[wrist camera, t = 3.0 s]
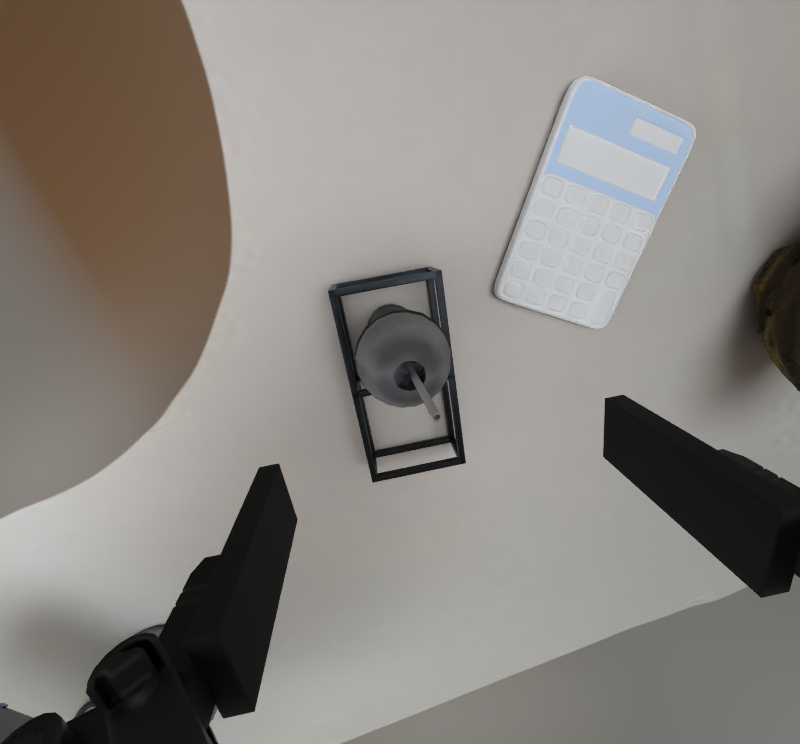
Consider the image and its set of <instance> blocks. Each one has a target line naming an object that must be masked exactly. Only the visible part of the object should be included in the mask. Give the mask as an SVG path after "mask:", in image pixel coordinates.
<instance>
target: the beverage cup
mask: <svg viewBox="0 0 800 744" xmlns="http://www.w3.org/2000/svg"><path fill="white" fill-rule="evenodd" d="M354 358H355V367H356V371H357V373H358V376H359V378H360V380H361V382H362V383H363V385H364V386H365V388H366V389H367V390H368V391H369V392H370V393H371V394H372V395H373V396H374V397H375V398H376V399H378V400H380V401H382V402H384V403H386V404H388V405H391V406H396V407H402V408H404V407H413V406H417V405H420V404H422V403H425V405H426V407H427V409H428V411H429V413H430V415H431V416H432V418H433V420H434V421H439V420H440V419H441V415H440V413H439V411H438V410H437V408H436V406H435V405H434V403H433V401H432V399H431V398H433V397H434V396H435V395H436V394H437V393H439V391H440V390H441V388H442V387H443V385H444V384H445V382H446V381H447V378H448V374H449V371H450V368H451V355H450V345H449V343H448V340H447V337H446V334H445V332H444V331H443V330H442V329H441V327H440V326H439V325H438V324H437V322H436V321H434V320H433V319H431V318H429V317H428V316H426V315H425V314H423V313H419V312H415V311H411V310H407V309H405V308H403V307H402V306H398V305H394V304H388V305H384V306H381V307H379V308H378V309H377V310H376V311H374V313H373V314H372V316H371V318H370V319H369V322H368V325H367V327H366V328H365V329H364V331H363V332H362V334H361V336H360V337H359V339H358V341H357V345H356V350H355V354H354Z"/></svg>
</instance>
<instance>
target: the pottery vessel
mask: <svg viewBox="0 0 800 744" xmlns="http://www.w3.org/2000/svg"><path fill="white" fill-rule="evenodd" d="M797 242H798V241H797ZM795 245H796V246H795ZM799 254H800V244H797V243H796V244H794V245H791V246H788V247H784V248H781V249H779V250H777V251H776V252H775V254H774V255H773V256H772V258H771V260H770V261H769V262H768V263H767V265H766V266H767V269H766V270H763V272H762V275H761V276H760V278H759V279H758V280H757V282H756V284H755V286H754V287H753V288H754V289H755V291H756V296H757V300H758V313H757V322H758V328H757V329H756V331H757V332H758V333H759V334H760V335H761V336H762V340H761V341H762V342H763V343H764V346H765V348H766V350H767V351H768V353H769V356H770V359H771V360H772V362H773V363H774V364H775V365H776V367H777V368H778V369H779V370H780V371H781V372H782V374H783V375H784V376H785V377H786V378H787V379H788V380H789V381H790V382H791V383H792V384H793V385H794V386H795V387H796V388H797V389H796V390H798V391H800V255H799ZM798 255H799V256H798Z"/></svg>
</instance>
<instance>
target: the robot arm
mask: <svg viewBox="0 0 800 744" xmlns="http://www.w3.org/2000/svg"><path fill="white" fill-rule="evenodd" d="M603 457H604V458H605V459H606V460H608V461H609V462H610V463H611V464H612V465H613V466H614V467H615V468H616V469H618V470H619V471H620V472H621V473H622V474H623V475H624V476H625V477H627V478H628V479H629V480H630V481H631V482H632V483H633V484H634V485H635V486H637V487H638V488H639V489H640V490H641V491H642V492H643V493H644V494H646V495H647V496H648V497H649V498H650V499H651V500H652V501H653V502H655V503H656V504H657V505H658V506H659V507H660V508H661V509H662V510H663V511H665V512H666V513H667V514H668V515H669V516H670V517H671V518H672V519H674V520H675V521H676V522H677V523H678V524H679V525H680V526H681V527H683V528H684V529H685V530H686V531H687V532H688V533H689V534H690V535H691V536H693V537H694V538H695V539H696V540H697V541H698V542H699V543H700V544H702V545H703V546H704V547H705V548H706V549H707V550H708V551H709V552H711V553H712V554H713V555H714V556H715V557H716V558H717V559H718V560H719V561H721V562H722V563H723V564H724V565H725V566H726V567H727V568H728V569H730V570H731V571H732V572H733V573H734V574H735V575H736V576H737V577H739V578H740V579H741V580H742V581H743V582H744V583H745V584H746V585H747V586H749V587H750V588H751V589H752V590H753V591H754V592H755V593H756V594H758V595H759V596H760V597H761V598H762V597H767V596H771V595H775V594H780V593H784V592H789V590H790V586H791V583H792V579H793V576H794V574H796V575H797V576H798V577H800V488H799V487H797V486H796V485H794V484H792V483H790V482H788V481H787V480H785V479H783V478H779V477H778V476H777V475H776V474H774V473H773V472H771V471H769V470H767V469H763V467H762V466H760V465H758V464H757V463H755V462H753V461H751V460H750V459H748V458H746V457H744V456H741V455H738V454H735V453H732V452H730V451H727V450H724V449H722V450H716V449H714V448H713V447H711V446H709V445H708V444H706V443H704V442H703V441H701V440H699V439H697V438H696V437H694V436H692V435H691V434H689V433H687V432H686V431H684V430H682V429H680V428H679V427H677V426H675V425H674V424H672V423H670V422H669V421H667V420H665V419H664V418H662V417H660V416H658V415H657V414H655V413H653V412H652V411H650V410H648V409H647V408H645V407H643V406H641V405H640V404H638V403H636V402H635V401H633V400H631V399H630V398H628V397H626V396H625V395H620V396H615V397H610V398H605V416H604V449H603ZM296 524H297V517H296V514H295V511H294V508H293V505H292V502H291V499H290V496H289V492H288V489H287V486H286V483H285V480H284V477H283V474H282V471H281V468H280V465H279V464H274V465H269V466H264V467H259V469H258V471H257V474H256V476H255V478H254V480H253V483H252V485H251V487H250V489H249V492H248V494H247V496H246V498H245V501H244V503H243V505H242V507H241V510H240V512H239V514H238V516H237V519H236V521H235V523H234V525H233V528H232V530H231V532H230V534H229V537H228V539H227V541H226V543H225V546H224V548H223V550H222V552H221V555H216V556H211V557H207V558H204V559H203V561H202V562H201V563H200V564H199V565H198V566H197V567H196V568H195V570H194V571H193V572H192V573H191V574H190V576H189V578H188V580H187V582H186V584H185V586H184V588H183V593H181V594H180V596H179V598H178V600H177V602H176V607H174V608H173V610H172V612H171V614H170V616H169V618H168V620H167V622H166V624H165V625H164V626H158V627H154V628H150V629H147V630H144V631H142V632H140V633H138V634H136V635H134V636H132V637H130V638H128V639H127V640H125V641H123V642H121V643H120V644H118V645H117V646H116V647H115V648H113V649H112V650H111V651H110V652H109V653H108V654H106V655H105V656H104V658H103V659H102V660H101V661H100V662H99V664H98V665H97V666H96V667H95V668H94V670H93V672H92V674H91V676H90V678H89V680H88V682H87V690H86V693H87V695H88V696H89V697H90V699H91V700H92V701H90V702H88V703H87V704H85V705H84V706H83V707H82V708H81V709H80V710H79V712H78V713H77V715H76V717H75V718H74V719H72V720H70V721H68V722H65V721H64V720H63V719H62V717H60V716H59V715H58V714H57V713H44V714H42V715H40V716H37V717H35V718H33V717H30V716H27V715H25V714H22V713H19V712H17V711H14V710H11V709H9V708H7V706H8V705H7V704H5V703H0V744H218V742H217V740H216V737H215V735H214V733H213V731H212V729H211V727H210V726H209V723H210V721H211V720H213V718H214V715H215V713H216V711H217V709H218V710H219V712H220V714H221V715H222V717H223V718H228V717H232V716H237V715H241V714H245V713H250V712H254V711H255V707H256V703H257V698H258V694H259V689H260V685H261V680H262V676H263V671H264V667H265V662H266V658H267V653H268V649H269V644H270V640H271V636H272V631H273V627H274V622H275V618H276V613H277V609H278V604H279V600H280V595H281V591H282V586H283V582H284V577H285V573H286V569H287V564H288V560H289V555H290V551H291V546H292V542H293V537H294V533H295V528H296ZM91 707H95V708H93V709H91V710H90V711H88V712H86V713H84V712H85V711H86V710H87V709H89V708H91Z"/></svg>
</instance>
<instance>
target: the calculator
mask: <svg viewBox="0 0 800 744" xmlns="http://www.w3.org/2000/svg"><path fill="white" fill-rule="evenodd" d="M695 138H696V129H695V127H694V126H693V125H692V124H691V123H689V122H688V121H686V120H684V119H682V118H680V117H678V116H676V115H673V114H671V113H669V112H667V111H665V110H663V109H660V108H658V107H656V106H654V105H652V104H650V103H648V102H645V101H643V100H641V99H639V98H637V97H635V96H633V95H630V94H628V93H626V92H624V91H622V90H620V89H618V88H615V87H613V86H611V85H609V84H607V83H605V82H603V81H600V80H598V79H596V78H593V77H589V76H582V77H579V78H577V79H576V80H575V81H574V82H573V83H572V84H571V85H570V87H569V88H568V90H567V92H566V94H565V96H564V99H563V101H562V104H561V106H560V109H559V111H558V114H557V117H556V119H555V122H554V125H553V128H552V130H551V133H550V136H549V138H548V141H547V144H546V146H545V149H544V152H543V154H542V157H541V160H540V162H539V165H538V168H537V171H536V173H535V176H534V179H533V181H532V184H531V187H530V189H529V192H528V195H527V197H526V200H525V203H524V206H523V208H522V211H521V214H520V216H519V219H518V222H517V224H516V227H515V230H514V232H513V235H512V238H511V241H510V243H509V246H508V249H507V251H506V254H505V257H504V259H503V262H502V265H501V267H500V270H499V273H498V276H497V278H496V282H495V285H494V294H495V295H496V296H497V297H498V298H500V299H501V300H504V301H507V302H509V303H513V304H516V305H519V306H522V307H525V308H528V309H532V310H535V311H538V312H541V313H544V314H548V315H551V316H554V317H557V318H561V319H564V320H567V321H570V322H573V323H577V324H580V325H583V326H586V327H590V328H594V329H601V328H604V327H605V326H606V325H607V324H608V322H609V321H610V319H611V317H612V315H613V313H614V311H615V309H616V307H617V305H618V303H619V300H620V298H621V296H622V294H623V292H624V290H625V288H626V286H627V284H628V282H629V279H630V277H631V275H632V273H633V271H634V269H635V267H636V265H637V263H638V261H639V258H640V256H641V254H642V252H643V250H644V248H645V246H646V244H647V242H648V240H649V237H650V235H651V233H652V231H653V229H654V227H655V225H656V223H657V221H658V219H659V217H660V214H661V212H662V210H663V208H664V206H665V204H666V202H667V200H668V198H669V196H670V193H671V191H672V189H673V187H674V185H675V183H676V181H677V179H678V177H679V175H680V172H681V170H682V168H683V166H684V164H685V162H686V160H687V158H688V156H689V153H690V151H691V149H692V147H693V144H694V142H695Z"/></svg>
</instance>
